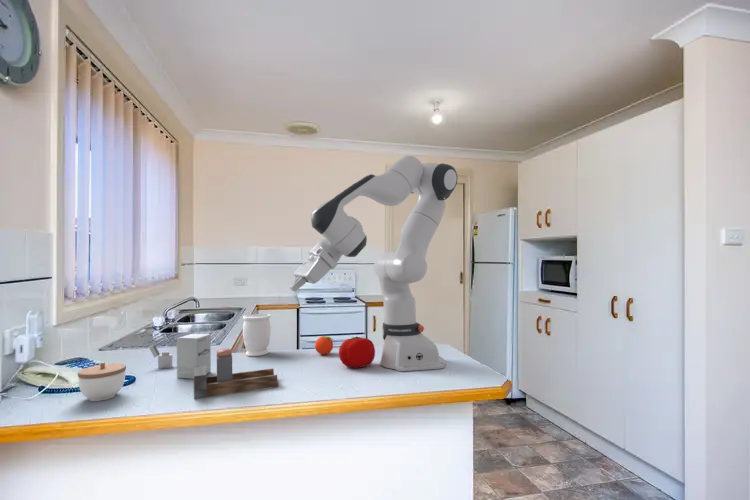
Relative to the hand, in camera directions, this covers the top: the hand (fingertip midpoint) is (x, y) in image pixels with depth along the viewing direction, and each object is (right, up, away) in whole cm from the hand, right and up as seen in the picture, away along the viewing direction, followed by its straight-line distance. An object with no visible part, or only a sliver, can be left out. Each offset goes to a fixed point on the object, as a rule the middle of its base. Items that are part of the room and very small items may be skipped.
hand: (292, 290), depth 119 cm
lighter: (-49, -29, +15) cm, 58 cm away
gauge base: (-15, -27, -7) cm, 32 cm away
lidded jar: (-49, -28, -13) cm, 58 cm away
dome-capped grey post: (-18, -26, -8) cm, 32 cm away
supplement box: (-33, -28, +5) cm, 44 cm away
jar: (-20, -28, +31) cm, 47 cm away
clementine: (+7, -28, +29) cm, 41 cm away
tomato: (+19, -28, +13) cm, 36 cm away
